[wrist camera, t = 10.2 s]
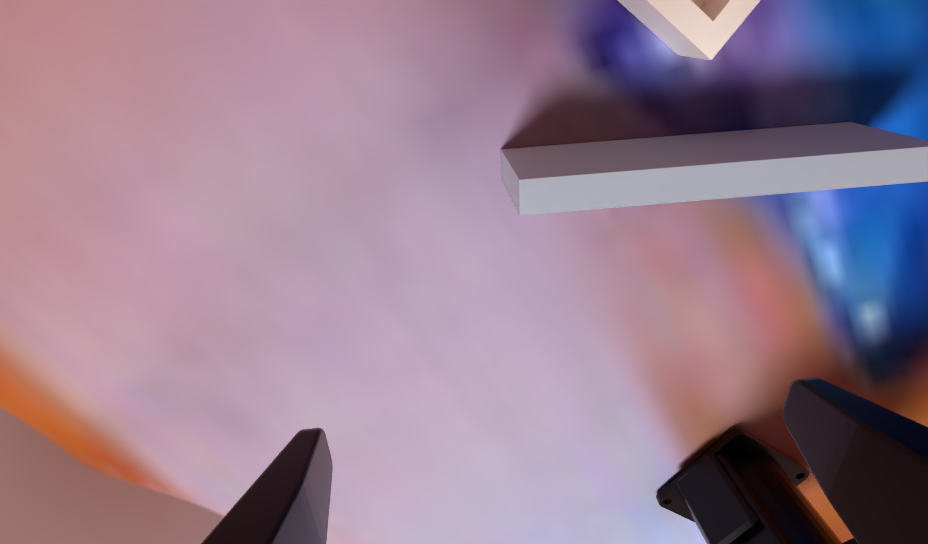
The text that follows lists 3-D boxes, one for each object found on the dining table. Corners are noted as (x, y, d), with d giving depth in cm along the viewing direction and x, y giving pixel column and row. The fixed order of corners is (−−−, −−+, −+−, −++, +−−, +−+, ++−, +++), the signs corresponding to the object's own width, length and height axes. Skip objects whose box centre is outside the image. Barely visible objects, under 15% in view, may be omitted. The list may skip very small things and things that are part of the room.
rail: (850, 121, 20) (945, 145, 16) (841, 151, 20) (931, 180, 17) (500, 149, 19) (519, 179, 15) (501, 179, 20) (519, 215, 16)
